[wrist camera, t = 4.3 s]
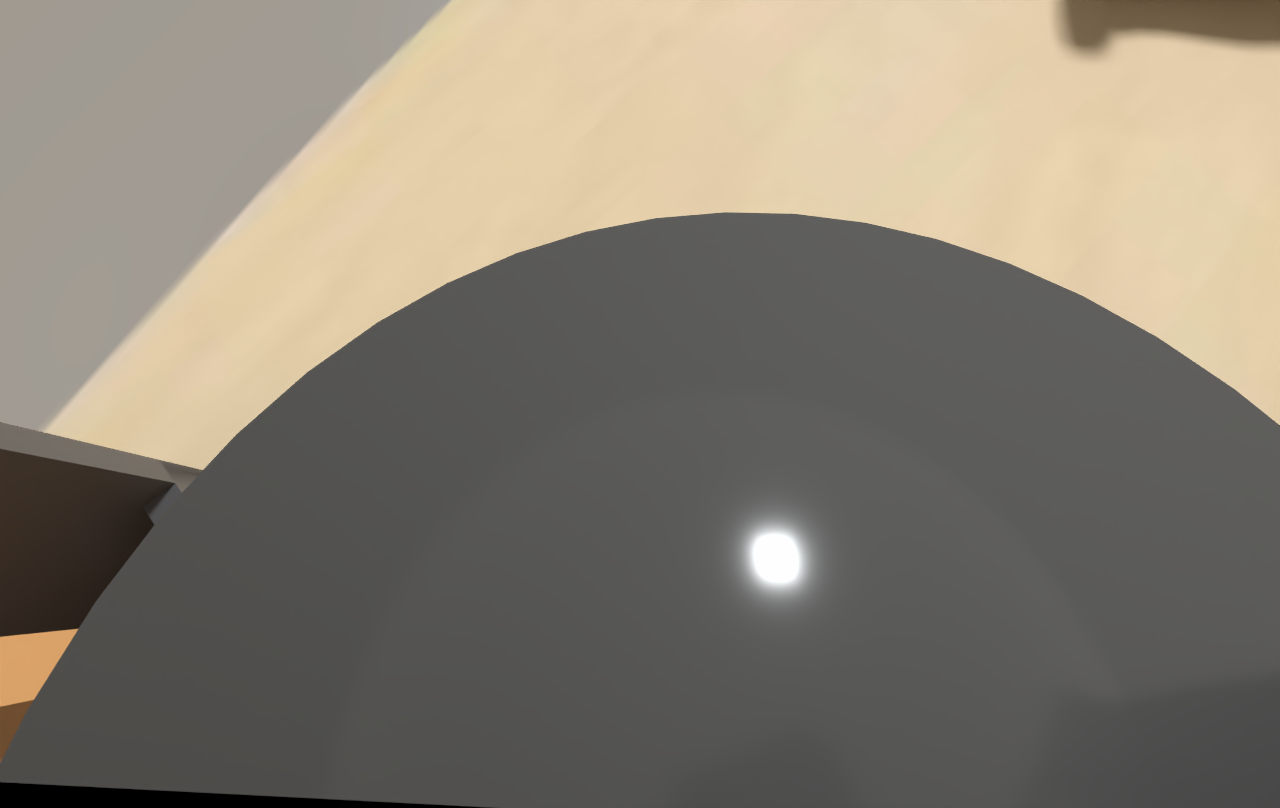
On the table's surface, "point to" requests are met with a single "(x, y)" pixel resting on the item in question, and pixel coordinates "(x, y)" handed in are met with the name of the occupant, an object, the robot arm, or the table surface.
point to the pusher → (25, 675)
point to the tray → (71, 523)
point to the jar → (703, 553)
